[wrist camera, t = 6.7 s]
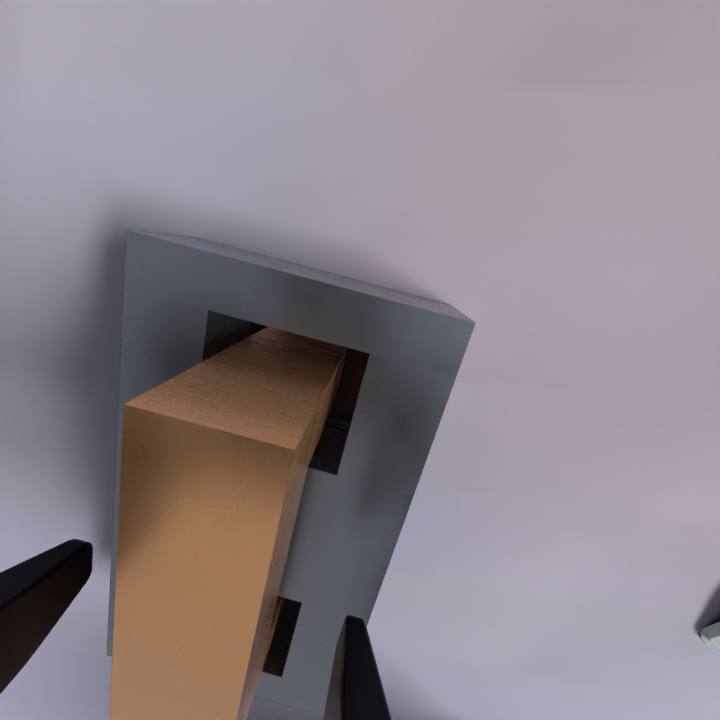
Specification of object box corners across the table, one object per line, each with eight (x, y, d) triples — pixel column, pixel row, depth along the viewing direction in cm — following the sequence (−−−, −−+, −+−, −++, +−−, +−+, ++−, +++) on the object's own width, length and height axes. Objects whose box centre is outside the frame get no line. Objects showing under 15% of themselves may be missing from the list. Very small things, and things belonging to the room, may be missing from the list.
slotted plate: (344, 627, 14) (333, 718, 12) (162, 577, 15) (106, 655, 12) (452, 305, 10) (475, 323, 8) (198, 237, 10) (126, 229, 8)
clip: (292, 574, 14) (212, 828, 8) (233, 558, 14) (106, 797, 8) (349, 342, 11) (294, 450, 5) (274, 323, 11) (123, 404, 5)
